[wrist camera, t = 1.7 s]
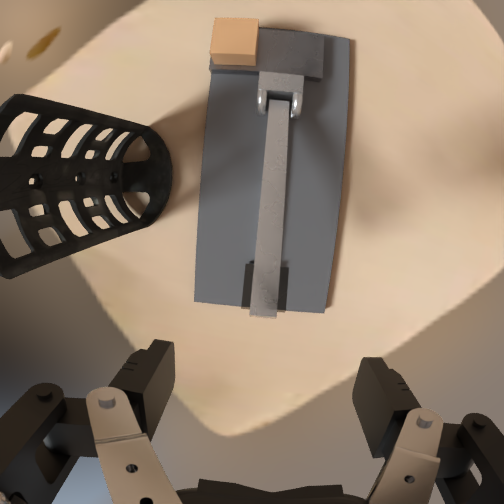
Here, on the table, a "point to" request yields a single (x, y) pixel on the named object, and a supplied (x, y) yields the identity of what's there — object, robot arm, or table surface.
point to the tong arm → (270, 224)
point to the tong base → (282, 67)
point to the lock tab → (235, 41)
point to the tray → (250, 182)
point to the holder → (67, 188)
